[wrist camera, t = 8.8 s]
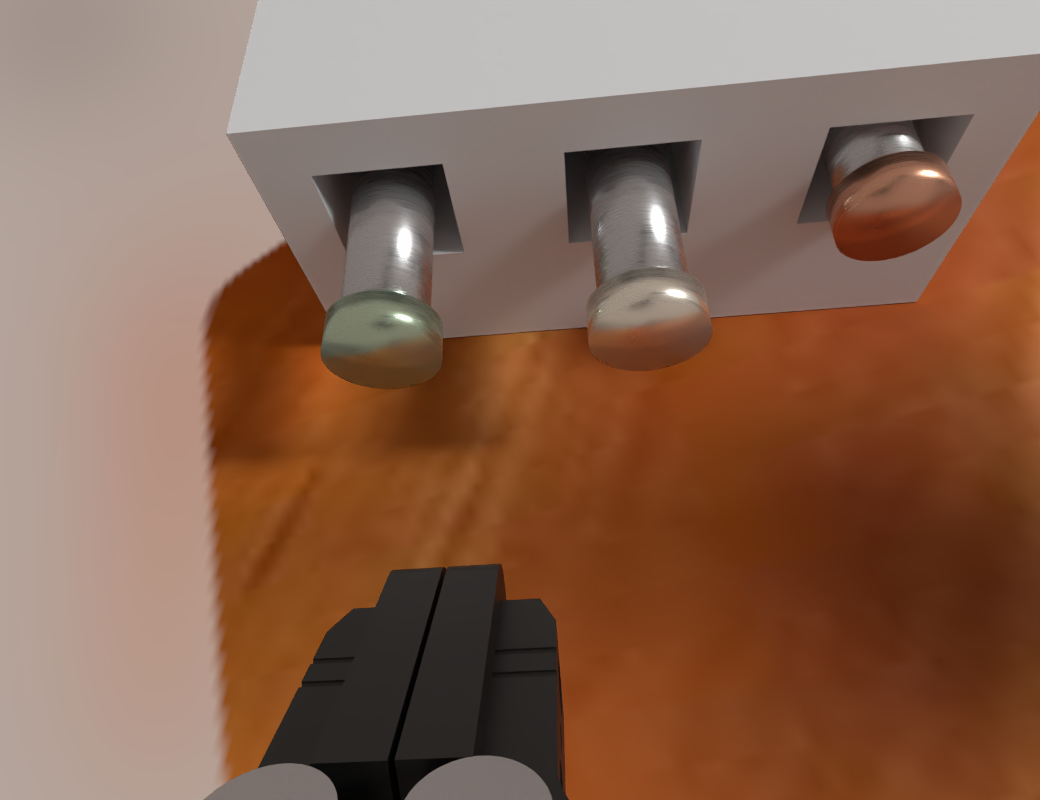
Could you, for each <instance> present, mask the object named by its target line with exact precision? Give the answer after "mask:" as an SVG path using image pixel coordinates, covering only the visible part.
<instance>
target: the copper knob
mask: <svg viewBox="0 0 1040 800" xmlns="http://www.w3.org/2000/svg"><path fill="white" fill-rule="evenodd" d="M821 155H822V158H823V161H824V164H825V167H826V170H827V173H828V176H829V180H830V183H831V186H832V189H833V192H832V193H831V195H830V197H829V199H828V202H827V206H826V214H827V218H828V221H829V224H830V228H831V231H832V234H833V237H834V240H835V244H836V246H837V248H838V250H839V251H840V252H841V253H842V254H843V255H845V256H846V257H849V258H851V259H855V260H860V261H882V260H888V259H893V258H897V257H900V256H903V255H906V254H909V253H912V252H914V251H916V250H918V249H920V248H922V247H924V246H926V245H928V244H930V243H931V242H933V241H934V240H936V239H937V238H938V237H940V236H941V235H942V234H943V233H945V232H946V231H947V230H948V229H949V228H950V227H951V225H952V224H953V223H954V222H955V220H956V219H957V217H958V215H959V213H960V211H961V207H962V198H961V196H960V193H959V191H958V188H957V186H956V184H955V182H954V179H953V177H952V175H951V172H950V170H949V168H948V165H947V164H946V162H945V161H944V160H943V159H942V158H941V157H939V156H937V155H936V154H933V153H930V152H925V151H924V149H923V146H922V144H921V142H920V139H919V137H918V135H917V132H916V130H915V127H914V125H913V123H912V120H905V121H895V122H884V123H873V124H863V125H852V126H841V127H831V128H830V129H829V132H828V134H827V137H826V140H825V143H824V146H823V149H822V152H821Z"/></svg>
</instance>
